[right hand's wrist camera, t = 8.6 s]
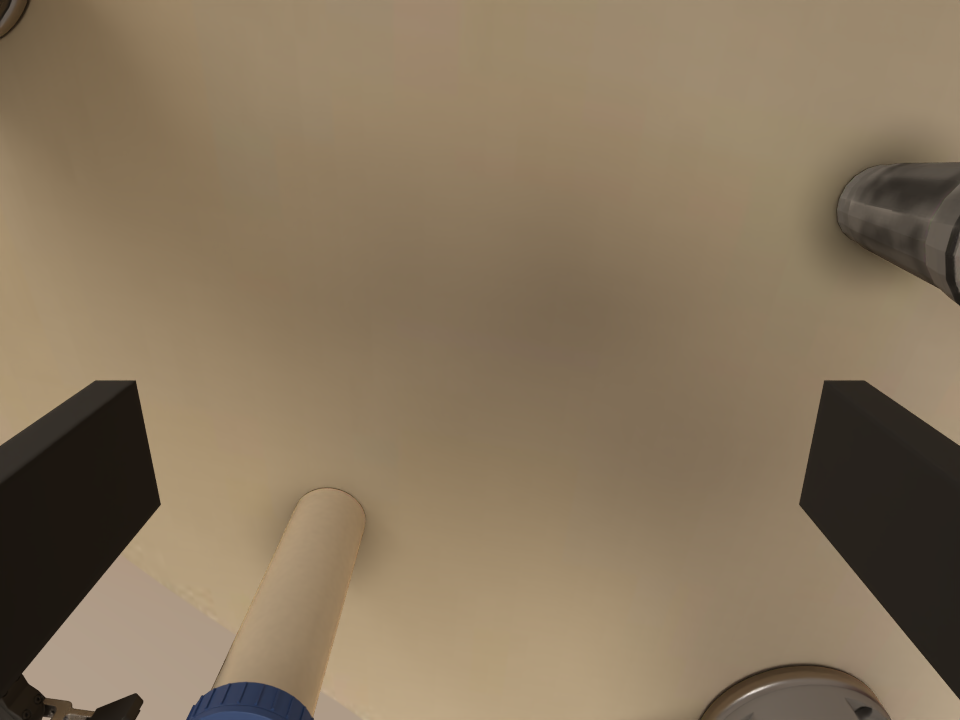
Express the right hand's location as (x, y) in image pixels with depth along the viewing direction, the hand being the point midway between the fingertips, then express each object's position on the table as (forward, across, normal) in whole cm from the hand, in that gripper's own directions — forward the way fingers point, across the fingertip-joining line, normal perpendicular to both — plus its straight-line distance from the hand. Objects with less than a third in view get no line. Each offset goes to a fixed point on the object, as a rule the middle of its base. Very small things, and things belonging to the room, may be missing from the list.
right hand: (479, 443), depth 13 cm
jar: (+27, +10, +20) cm, 36 cm away
